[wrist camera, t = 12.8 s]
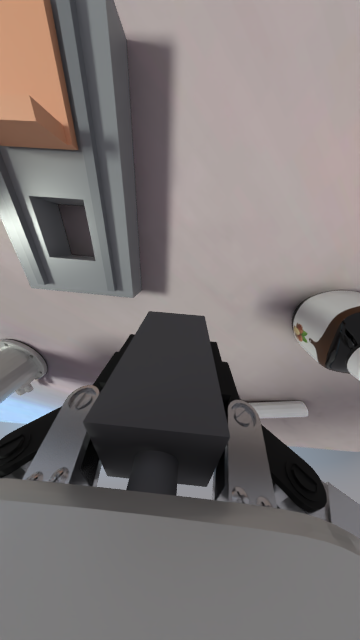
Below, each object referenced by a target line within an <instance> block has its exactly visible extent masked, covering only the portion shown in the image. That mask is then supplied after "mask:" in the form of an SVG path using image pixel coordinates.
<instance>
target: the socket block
mask: <svg viewBox="0 0 360 640" xmlns="http://www.w3.org/2000/svg"><path fill="white" fill-rule="evenodd" d="M50 2H51V8H52V13H53V18H54V23H55V29H56V34H57V39H58V45H59V50H60V55H61V61H62V66H63V71H64V76H65V82H66V87H67V92H68V98H69V103H70V108H71V113H72V119H73V124H74V129H75V135H76V140H77V145H78V150H66V149H48V148H30V147H12V146H1V145H0V218H1V220H2V222H3V224H4V227H5V229H6V231H7V233H8V236H9V238H10V240H11V243H12V245H13V247H14V249H15V252H16V254H17V256H18V258H19V261H20V263H21V265H22V268H23V270H24V272H25V274H26V277H27V279H28V281H29V283H30V286H31V288H37V289H47V290H57V291H68V292H78V293H88V294H99V295H109V296H119V297H130V298H134V297H135V296H136V295H137V294H138V293H139V292H140V291H141V290H142V286H141V269H140V253H139V237H138V220H137V204H136V188H135V171H134V155H133V139H132V122H131V106H130V90H129V73H128V57H127V41H126V36H125V33H124V30H123V27H122V24H121V21H120V18H119V15H118V12H117V9H116V6H115V3H114V0H50ZM58 204H66V205H80V206H85V211H86V216H87V221H88V225H89V230H90V235H91V240H92V245H93V250H94V255H95V257H90V256H79V255H71V251H70V248H69V244H68V240H67V237H66V233H65V229H64V226H63V222H62V218H61V215H60V211H59V207H58Z"/></svg>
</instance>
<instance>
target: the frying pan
mask: <svg viewBox="0 0 360 640" xmlns="http://www.w3.org/2000/svg"><path fill="white" fill-rule="evenodd" d="M248 404H250V405H251V406H252V407H253V408H254V409H255V410H256V412H257V413H258V415H259V418H289V417H307V416H308V410H307V407H306V406H305V404H304V403H303V402H302V401H278V402H256V403H248Z"/></svg>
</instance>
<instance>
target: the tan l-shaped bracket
mask: <svg viewBox="0 0 360 640" xmlns="http://www.w3.org/2000/svg"><path fill="white" fill-rule="evenodd" d="M0 145H1V146H12V147H30V148H48V149H66V150H78V145H77V140H76V135H75V129H74V124H73V119H72V113H71V108H70V103H69V98H68V92H67V87H66V82H65V76H64V71H63V66H62V61H61V55H60V50H59V45H58V39H57V34H56V29H55V23H54V18H53V13H52V8H51V2H50V0H0Z"/></svg>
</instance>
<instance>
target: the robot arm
mask: <svg viewBox="0 0 360 640" xmlns="http://www.w3.org/2000/svg"><path fill="white" fill-rule="evenodd" d="M134 336H135V335H133V334H131V335H130V336H129V338H128V339H127V341H126V342H125V344H124V345H123V347H122V348H121V350H120V351H119V352H115V354H114V355H113V356H112V358H111V359H110V361H109V362H108V364H107V365H106V367H105V368H104V370H103V371H102V372H101V374H100V375H99V377H98V378H97V380H96V381H95V383H94V384H93V385H87V386H83V387H80V388H78V389H76V390H75V391H73V392H72V393H71V394H70V395H69V396H68V397H67V399H66V400H65V402H64V404H63V406H62V407H60V408H58V409H56V410H54V411H52V412H50V413H48V414H46V415H44V416H42V417H40V418H38V419H36V420H34V421H32V422H30V423H28V424H26V425H24V426H22V427H21V428H19V429H17V430H15V431H13V432H11V433H9V434H8V435H6V436H5V437H3V438H2V439H1V440H0V640H360V505H359V504H358V503H357V502H355V501H354V500H352V499H351V498H350V497H348V496H347V495H346V494H344V493H343V492H341V491H340V490H339V489H337V488H336V487H334V486H333V485H331V484H330V483H329V482H326V483H324V482H323V481H321V480H320V478H319V476H318V475H317V474H316V472H315V471H314V470H313V468H311V466H309V465H308V464H307V463H306V462H305V461H304V460H303V459H302V458H300V457H299V456H298V455H297V454H296V453H295V452H293V451H292V450H291V449H290V448H289V447H287V446H286V445H285V444H284V443H283V442H281V441H280V440H279V439H278V438H277V437H275V436H274V435H273V434H272V433H271V432H270V431H268V430H267V429H266V428H265V427H264V426H262V425H261V422H260V418H259V415H258V413H257V412H256V410H255V409H254V408H253V407H252V406H251V405H250V404H248V403H247V402H245V401H242V400H240V399H239V396H238V392H237V389H236V386H235V383H234V380H233V377H232V374H231V371H230V368H229V365H228V363H227V362H222V360H221V357H220V353H219V349H218V346H217V343H216V342H210V344H211V349H212V353H213V358H214V363H215V368H216V372H217V377H218V382H219V386H220V391H221V396H222V400H223V405H224V410H225V414H226V419H227V424H228V428H229V433H230V439H229V441H228V443H227V445H226V447H225V449H224V451H223V454H222V456H221V458H220V460H219V462H218V464H217V466H216V468H215V470H214V476H213V494H212V500H207V499H199V498H191V497H182V496H174V495H165V494H156V493H147V492H138V491H129V490H120V489H111V488H102V487H97V482H98V478H99V474H100V469H101V465H102V463H101V461H100V459H99V456H98V454H97V452H96V450H95V448H94V446H93V443H92V441H91V439H90V437H89V435H88V432H87V430H86V428H85V426H84V424H83V421H84V419H85V417H86V416H87V414H88V412H89V411H90V409H91V407H92V406H93V404H94V402H95V401H96V399H97V397H98V396H99V394H100V392H101V391H102V389H103V387H104V386H105V384H106V382H107V381H108V379H109V377H110V376H111V374H112V372H113V371H114V369H115V367H116V366H117V364H118V362H119V361H120V359H121V357H122V356H123V354H124V352H125V351H126V349H127V347H128V346H129V344H130V342H131V341H132V339H133V337H134ZM46 372H47V365H46V362H45V361H44V359H43V358H42V357H41V356H40V355H39V354H38V353H37V352H36V351H35V350H33V349H32V348H30V347H29V346H27V345H25V344H23V343H20V342H18V341H14V340H8V339H5V340H0V403H2V402H3V401H4V400H5V399H6V398H8V397H9V396H10V395H11V394H12V393H14V392H15V391H16V393H17V394H18V395H22V394H24V393H26V392H31V391H32V390H33V387H32V385H31V384H30V383H31V382H32V381H33V380H34V379H39V378H41V377H42V376H44V375H45V374H46Z"/></svg>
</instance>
